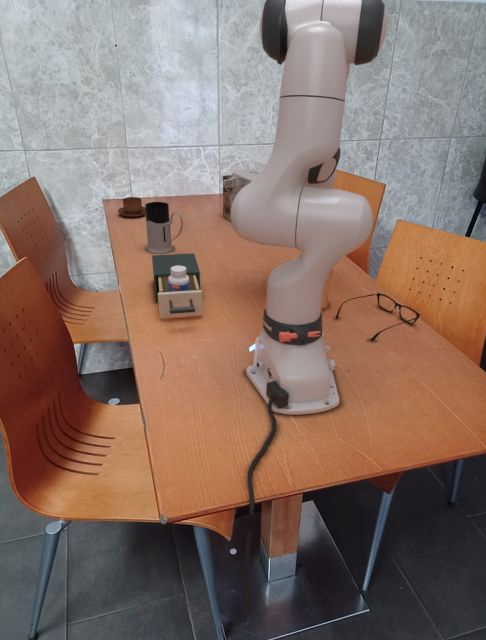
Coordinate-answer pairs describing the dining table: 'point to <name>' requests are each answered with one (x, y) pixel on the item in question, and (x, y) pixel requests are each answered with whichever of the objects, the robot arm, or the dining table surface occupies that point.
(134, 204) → the brown round flanged piece
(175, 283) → the pill bottle
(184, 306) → the drawer
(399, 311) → the eyeglasses
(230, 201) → the coffee box
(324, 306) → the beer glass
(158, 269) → the cabinet
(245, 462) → the dining table surface
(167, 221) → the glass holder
